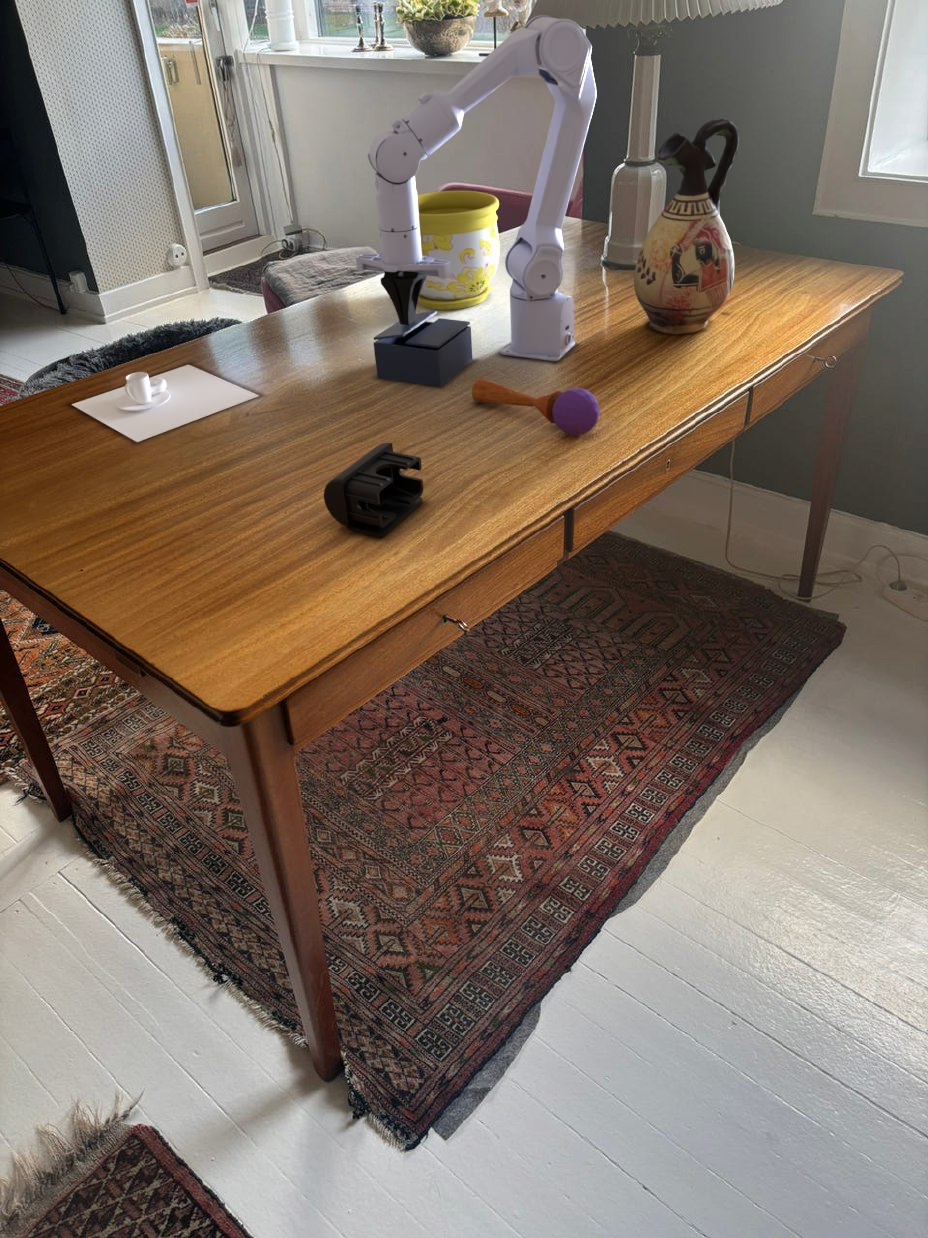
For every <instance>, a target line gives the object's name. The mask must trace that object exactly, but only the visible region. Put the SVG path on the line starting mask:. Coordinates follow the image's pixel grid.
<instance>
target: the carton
mask: <svg viewBox="0 0 928 1238" xmlns="http://www.w3.org/2000/svg"><path fill="white" fill-rule="evenodd" d="M470 324H471V321H467V320H458V319H451V318H443V317H442V318H441V317H439V318H437V319H436V320H434V321H425V322H424V323H422V324H421V325H419V326H418V327H417V328H415V329H414V330H412V331H411V332H409V333H408V334H406V335H405V336H404V337H395V338H387V339H378V340H375V341H374V342H373V351H374V360H375V361H374V362H375V370H376V378H377V379H384V380H388V381H389V380H390V381H397V382H404V383H410V384H416V385H417V384H418V385H425V386H432V387H439V388H441V387H443V386H444V385H445V384H446V383H448V382H449V381H450V380H451V379H453V378H454V377H455V376H456V375H457V374H459V373H460V372H461V371H462V370H464V369H465V368H466V367H467V366H468V365H469V364H471V363H472V362H473V343H472V326H470Z"/></svg>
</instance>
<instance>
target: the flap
mask: <svg viewBox="0 0 928 1238" xmlns="http://www.w3.org/2000/svg"><path fill="white" fill-rule="evenodd" d="M436 315H438V310H433V311H426V312H418V313H417V312H416V315H415V322H413V323H412V324H410V325H401V324H400V321H399V320H398V321H397V322H395V323H393V324H391V325H390V326H389V327H387V328H386V329H384V330H383V331H381V332H380V333H378V334H377V335H374V337H373V341H377V340H379V339H387V338H395V337H404V336H405V335H406V334H408V333H409V332H411V331H412V330H414V329H415V328H417V327H418V326H419V325H421V324H422V323H424V322H425V321H426V322H428V320H430V319H431V318H432V317H434V316H436Z"/></svg>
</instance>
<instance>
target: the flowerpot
mask: <svg viewBox="0 0 928 1238" xmlns="http://www.w3.org/2000/svg"><path fill="white" fill-rule="evenodd" d="M417 199H418V212H419V225H420V238H421V252H422V256H426V257H430V258H434V259H438V260H443V261H450V268H451V275H450V276H449V277H447V278H445V279H440V278H439V277H435V276H427V277H426V280H425V282H424V284H423V287H422V289H421V292H420V295H419V299H418V304H419V305H421V306H423V307H425V308H428V309H434V310H461V309H466V308H470V307H474V306H477V305H479V304H481V303H483V302H484V301H485V300H486V298H487V296H488V295H489V294H490V293H491V291H492V288H491V286H490V283H491V282H492V280H493V278H494V277H495V274H496V273H497V269H498V265H499V262H500V237H499V229H498V223H497V221H498V219H499V217H498V215H497V212H496V211H497V210H498V209H499V208H500V207H499V206H500V202H499V199H498V198H497V197H496V196H495V195H493V194H489V193H486V192H481V191H474V190H473V191H472V190H444V191H433V192H426V193H421V194H417Z"/></svg>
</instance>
